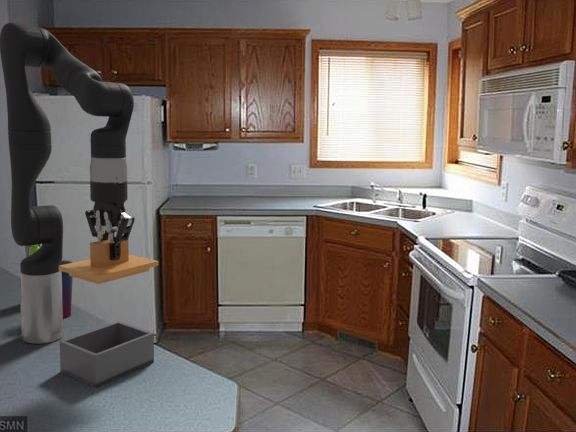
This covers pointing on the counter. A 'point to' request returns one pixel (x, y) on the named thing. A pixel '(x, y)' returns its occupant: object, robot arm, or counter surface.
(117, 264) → the lid
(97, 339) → the tub
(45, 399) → the counter surface
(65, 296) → the cup
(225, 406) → the counter surface
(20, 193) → the robot arm
